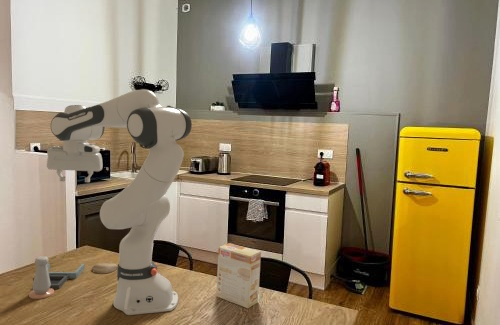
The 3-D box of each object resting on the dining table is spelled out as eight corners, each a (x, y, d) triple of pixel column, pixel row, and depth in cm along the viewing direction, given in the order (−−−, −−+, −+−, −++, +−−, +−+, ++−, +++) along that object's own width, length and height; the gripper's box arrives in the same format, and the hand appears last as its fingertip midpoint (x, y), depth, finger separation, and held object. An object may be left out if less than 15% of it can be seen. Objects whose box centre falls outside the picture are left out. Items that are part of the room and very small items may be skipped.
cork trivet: (94, 264, 163) (94, 262, 163) (118, 264, 166) (118, 262, 165) (90, 274, 153) (90, 272, 153) (116, 274, 156) (116, 271, 156)
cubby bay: (47, 268, 157) (47, 263, 156) (84, 268, 158) (84, 263, 158) (36, 278, 147) (36, 272, 147) (76, 278, 149) (76, 273, 148)
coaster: (57, 289, 139) (57, 287, 139) (48, 299, 131) (48, 297, 131) (35, 289, 138) (35, 287, 138) (24, 299, 130) (24, 297, 130)
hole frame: (44, 278, 147) (44, 275, 146) (68, 278, 148) (68, 275, 148) (33, 288, 138) (33, 284, 138) (59, 288, 139) (59, 285, 139)
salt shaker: (43, 296, 131) (43, 261, 130) (28, 294, 132) (28, 259, 130) (54, 289, 137) (54, 255, 136) (39, 287, 137) (39, 254, 136)
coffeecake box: (258, 302, 137) (261, 251, 135) (247, 309, 131) (250, 256, 129) (226, 290, 146) (229, 242, 144) (215, 296, 140) (217, 246, 138)
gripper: (43, 146, 141) (43, 181, 142) (99, 148, 143) (99, 183, 145) (50, 145, 147) (50, 179, 148) (104, 147, 149) (103, 181, 151)
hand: (75, 181), depth 146 cm, fingers open, 8 cm apart
